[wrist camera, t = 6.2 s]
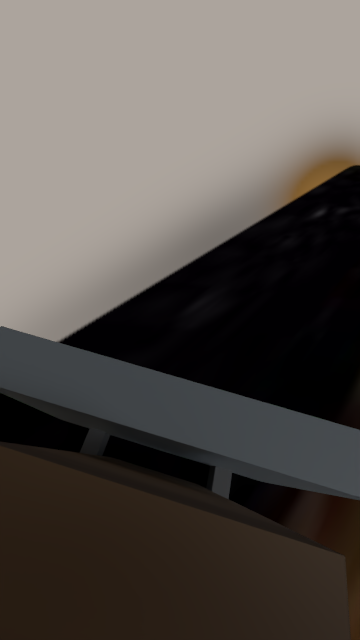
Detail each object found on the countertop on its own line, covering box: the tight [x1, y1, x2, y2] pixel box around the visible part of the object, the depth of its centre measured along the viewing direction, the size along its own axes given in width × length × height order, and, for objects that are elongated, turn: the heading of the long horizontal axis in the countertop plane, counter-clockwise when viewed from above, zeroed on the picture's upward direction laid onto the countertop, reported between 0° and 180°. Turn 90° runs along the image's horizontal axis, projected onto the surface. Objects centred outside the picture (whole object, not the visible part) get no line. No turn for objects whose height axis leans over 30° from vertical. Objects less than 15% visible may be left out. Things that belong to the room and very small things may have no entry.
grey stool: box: [0, 326, 360, 500], centre depth 11 cm, size 10×14×10 cm
